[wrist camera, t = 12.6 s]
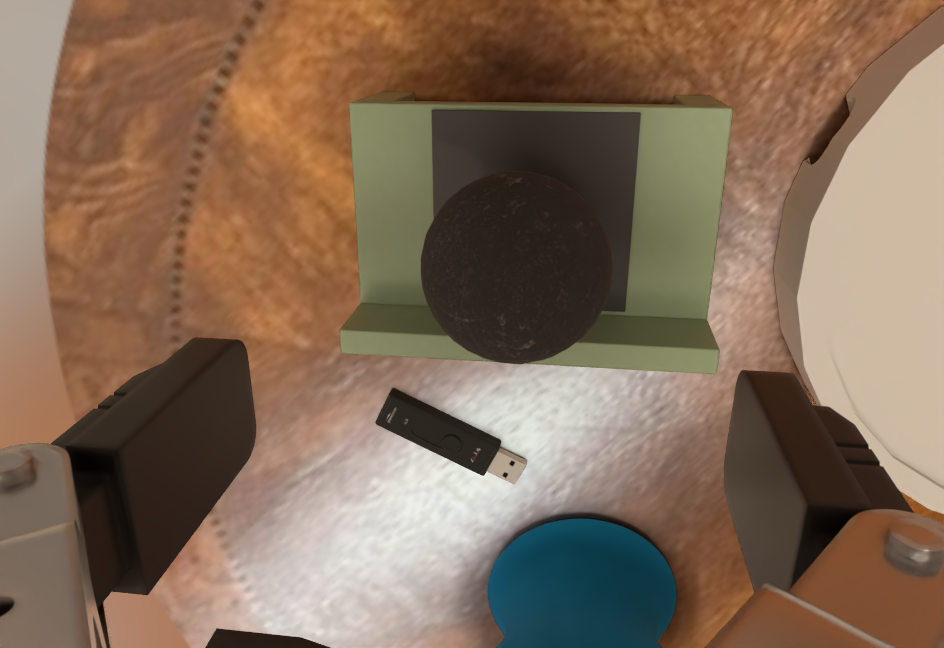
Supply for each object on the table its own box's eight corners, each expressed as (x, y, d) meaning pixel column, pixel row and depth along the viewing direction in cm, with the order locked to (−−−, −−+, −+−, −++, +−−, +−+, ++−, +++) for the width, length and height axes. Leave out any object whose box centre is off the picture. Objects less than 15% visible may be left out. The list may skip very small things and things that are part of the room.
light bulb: (631, 242, 29) (653, 347, 19) (501, 304, 30) (466, 428, 21) (563, 108, 27) (553, 153, 18) (431, 181, 29) (360, 256, 20)
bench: (389, 286, 36) (340, 353, 29) (381, 91, 33) (323, 111, 26) (688, 299, 35) (717, 375, 27) (711, 95, 31) (751, 117, 24)
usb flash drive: (530, 453, 39) (528, 463, 38) (513, 481, 40) (511, 492, 39) (392, 386, 38) (388, 395, 38) (378, 416, 39) (373, 425, 38)
